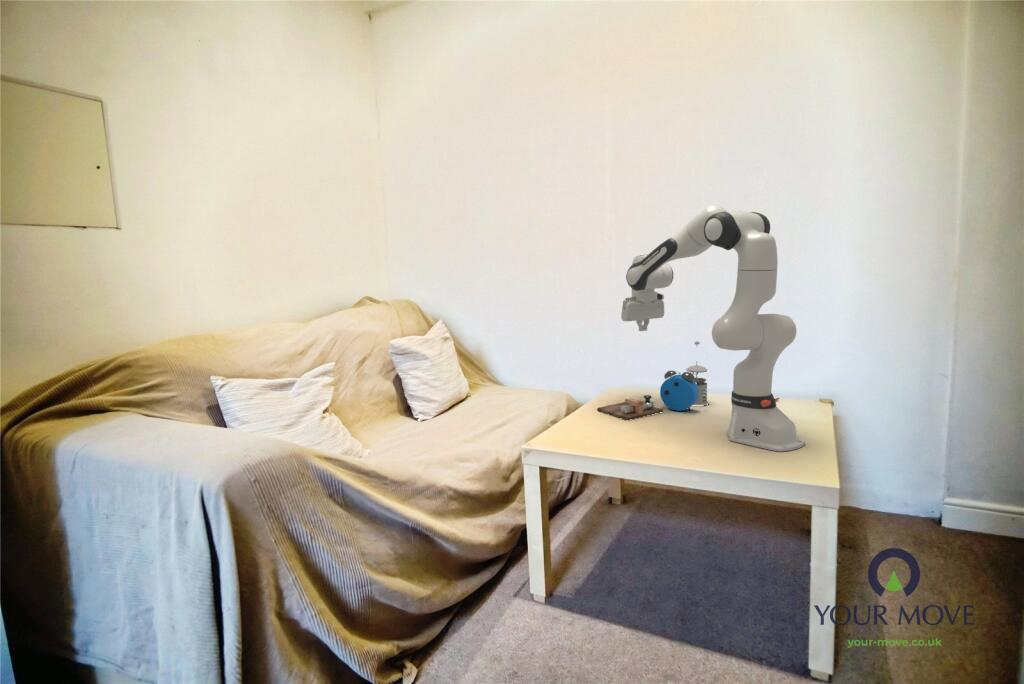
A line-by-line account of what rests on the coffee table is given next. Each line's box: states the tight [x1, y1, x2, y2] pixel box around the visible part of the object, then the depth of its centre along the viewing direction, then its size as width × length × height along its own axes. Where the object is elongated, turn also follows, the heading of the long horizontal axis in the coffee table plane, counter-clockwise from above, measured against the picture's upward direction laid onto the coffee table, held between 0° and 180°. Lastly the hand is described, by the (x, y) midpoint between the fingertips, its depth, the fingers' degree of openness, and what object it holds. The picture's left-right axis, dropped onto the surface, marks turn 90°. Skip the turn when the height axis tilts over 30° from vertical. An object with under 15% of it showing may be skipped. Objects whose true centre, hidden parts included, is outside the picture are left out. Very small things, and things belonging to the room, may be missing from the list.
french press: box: [686, 340, 709, 406], centre depth 210 cm, size 10×12×25 cm
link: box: [621, 394, 655, 413], centre depth 199 cm, size 14×4×4 cm, turn 120°
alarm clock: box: [659, 370, 699, 412], centre depth 201 cm, size 13×6×15 cm, turn 52°
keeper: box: [624, 397, 645, 414], centre depth 197 cm, size 7×3×4 cm, turn 31°
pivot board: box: [596, 402, 664, 421], centre depth 202 cm, size 17×18×1 cm
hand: (642, 330), depth 212 cm, fingers closed
